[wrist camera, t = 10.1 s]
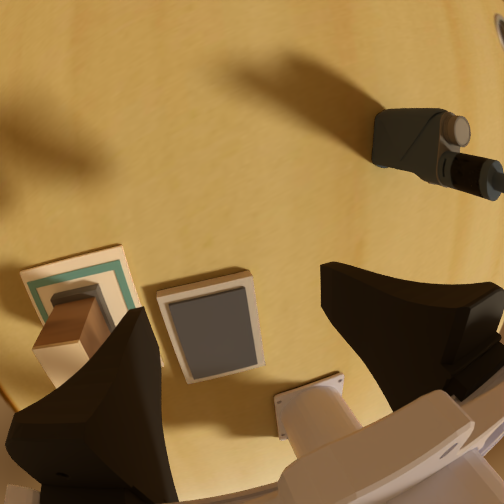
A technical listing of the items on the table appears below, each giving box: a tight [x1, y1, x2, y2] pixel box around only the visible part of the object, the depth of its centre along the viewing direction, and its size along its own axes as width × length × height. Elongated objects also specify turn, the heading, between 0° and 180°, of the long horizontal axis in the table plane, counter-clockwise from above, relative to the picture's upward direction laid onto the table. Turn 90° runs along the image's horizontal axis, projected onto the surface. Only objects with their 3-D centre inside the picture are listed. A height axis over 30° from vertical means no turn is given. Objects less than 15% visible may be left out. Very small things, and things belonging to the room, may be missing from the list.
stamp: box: [32, 283, 116, 389], centre depth 17 cm, size 5×4×6 cm
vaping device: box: [372, 108, 504, 201], centre depth 16 cm, size 3×5×12 cm, turn 176°
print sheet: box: [19, 245, 164, 367], centre depth 20 cm, size 11×9×1 cm
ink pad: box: [156, 270, 265, 384], centre depth 23 cm, size 9×7×1 cm
